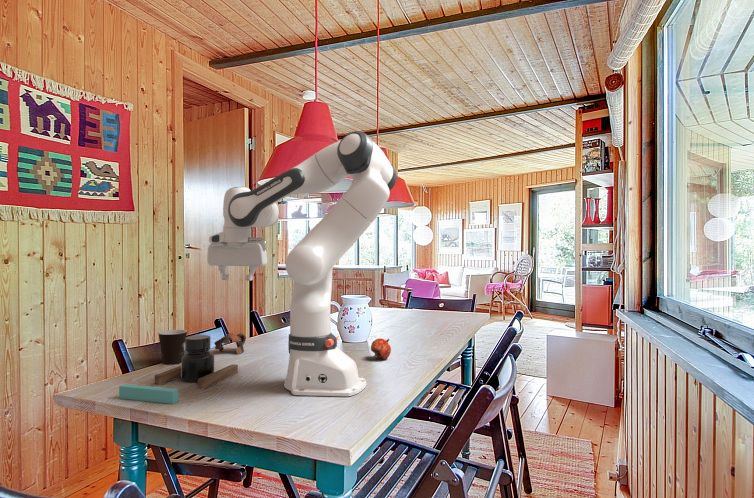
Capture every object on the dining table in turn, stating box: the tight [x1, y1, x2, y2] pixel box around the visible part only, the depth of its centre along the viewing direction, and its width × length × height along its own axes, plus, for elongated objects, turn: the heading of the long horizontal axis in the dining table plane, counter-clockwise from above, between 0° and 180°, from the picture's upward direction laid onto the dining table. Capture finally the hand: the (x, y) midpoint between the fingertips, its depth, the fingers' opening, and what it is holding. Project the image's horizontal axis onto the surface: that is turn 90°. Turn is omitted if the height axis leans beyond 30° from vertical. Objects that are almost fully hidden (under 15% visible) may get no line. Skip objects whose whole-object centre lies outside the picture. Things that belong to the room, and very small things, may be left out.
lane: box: [154, 364, 239, 390], centre depth 131 cm, size 16×16×2 cm
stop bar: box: [118, 383, 179, 405], centre depth 112 cm, size 16×2×3 cm, turn 74°
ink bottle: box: [180, 334, 215, 383], centre depth 131 cm, size 10×9×12 cm
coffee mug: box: [158, 329, 188, 366], centre depth 151 cm, size 12×9×10 cm
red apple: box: [369, 338, 392, 361], centre depth 153 cm, size 7×7×10 cm
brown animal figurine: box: [214, 332, 247, 355], centre depth 164 cm, size 12×10×8 cm
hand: (237, 280), depth 147 cm, fingers open, 8 cm apart
